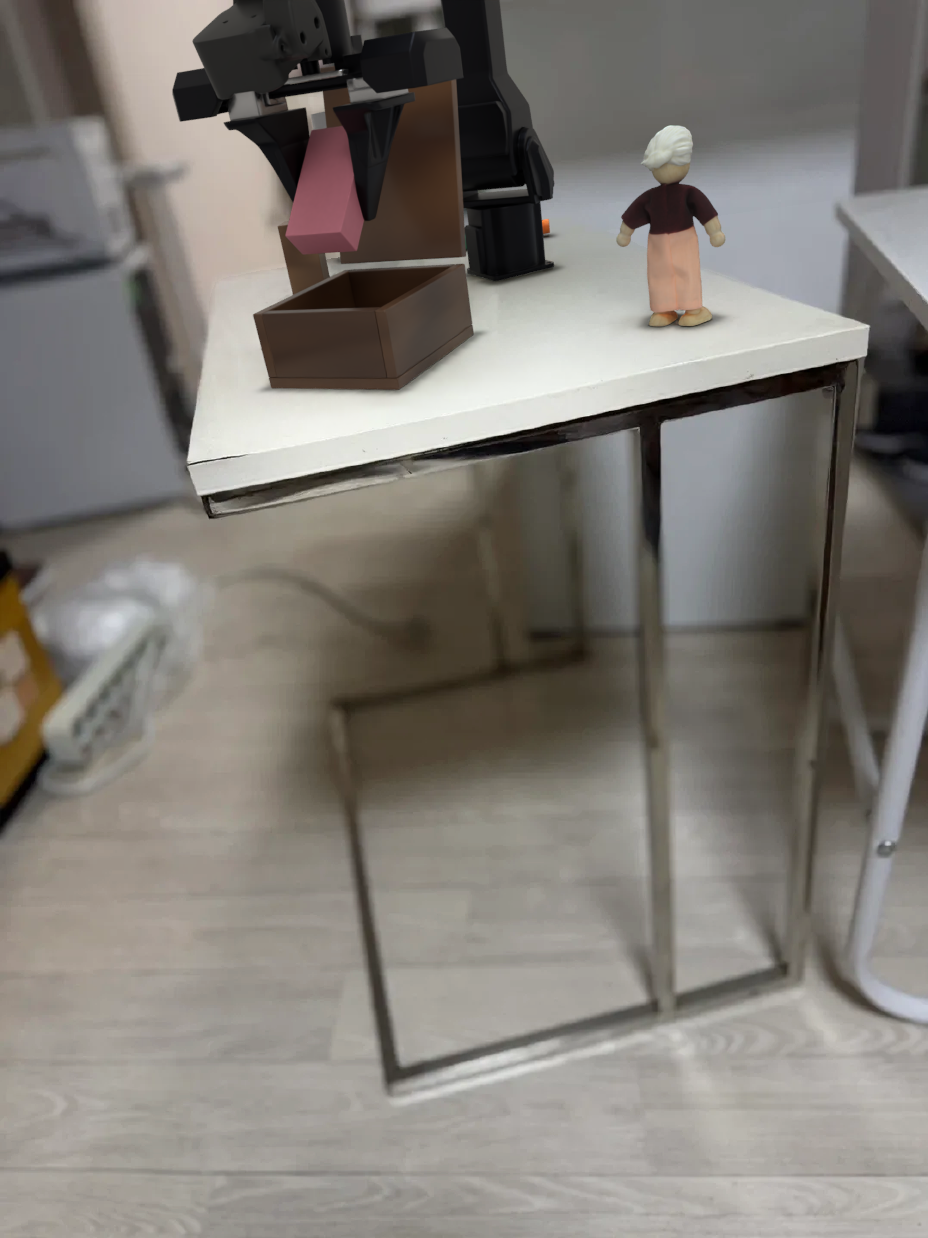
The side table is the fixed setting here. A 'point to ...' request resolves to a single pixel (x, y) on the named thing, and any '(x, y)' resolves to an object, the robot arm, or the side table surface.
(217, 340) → the side table surface
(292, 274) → the stand
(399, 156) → the lid
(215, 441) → the side table surface
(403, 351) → the chest
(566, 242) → the side table surface
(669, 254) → the grandmother figurine
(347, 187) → the long pink eraser
